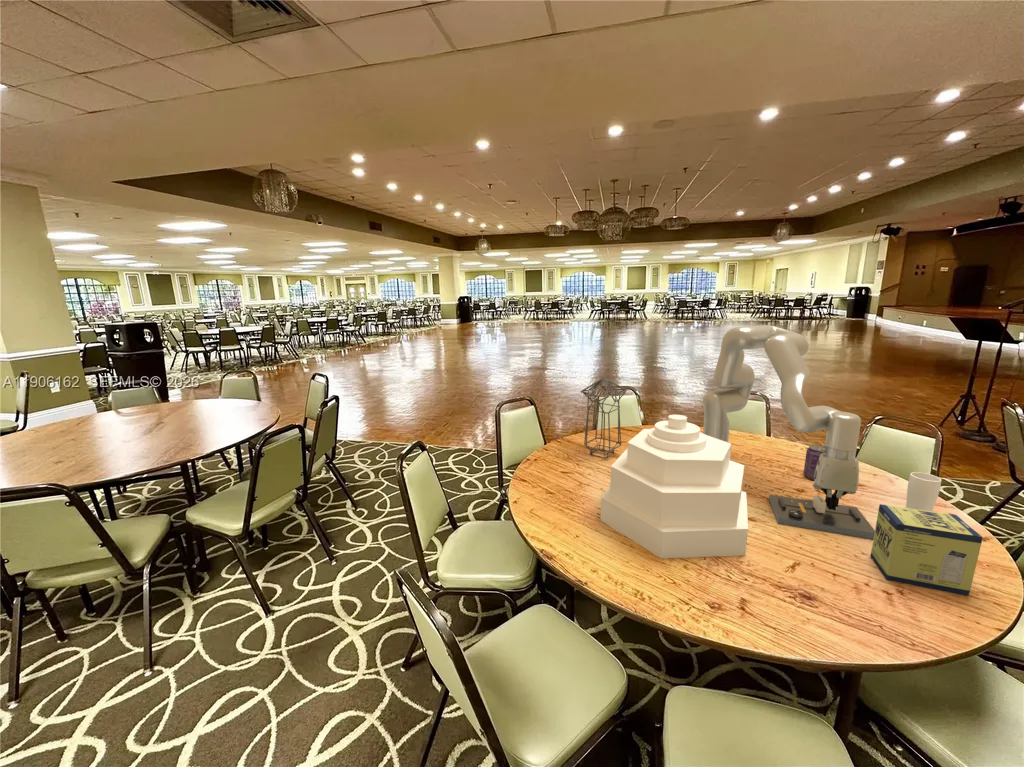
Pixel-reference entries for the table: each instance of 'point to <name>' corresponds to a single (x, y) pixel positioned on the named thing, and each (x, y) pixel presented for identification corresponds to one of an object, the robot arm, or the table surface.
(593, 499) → the table surface
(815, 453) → the beverage can
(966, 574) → the protein box
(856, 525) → the console
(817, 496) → the fader
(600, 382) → the geometric lantern
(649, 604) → the table surface
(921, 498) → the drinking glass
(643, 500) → the tiered cake
